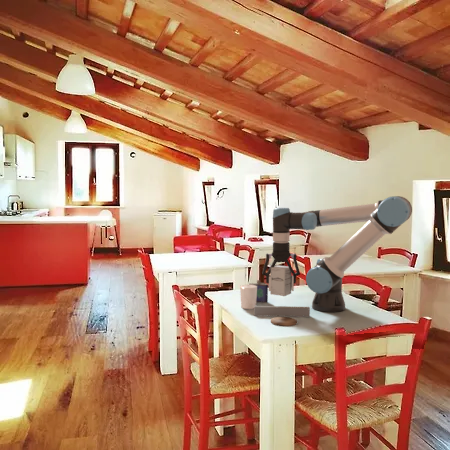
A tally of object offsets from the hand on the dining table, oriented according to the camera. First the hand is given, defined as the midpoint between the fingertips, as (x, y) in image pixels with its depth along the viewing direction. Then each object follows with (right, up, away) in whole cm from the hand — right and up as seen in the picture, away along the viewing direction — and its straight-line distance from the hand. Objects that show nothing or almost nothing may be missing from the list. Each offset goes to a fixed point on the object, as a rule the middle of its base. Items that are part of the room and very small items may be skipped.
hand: (281, 290), depth 227 cm
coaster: (-1, -11, -19) cm, 22 cm away
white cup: (-15, -9, +5) cm, 18 cm away
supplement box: (0, -2, 0) cm, 2 cm away
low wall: (-1, -10, -9) cm, 13 cm away
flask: (-9, -8, +16) cm, 20 cm away
